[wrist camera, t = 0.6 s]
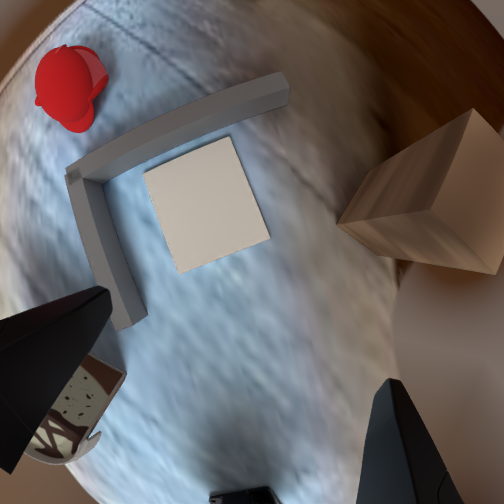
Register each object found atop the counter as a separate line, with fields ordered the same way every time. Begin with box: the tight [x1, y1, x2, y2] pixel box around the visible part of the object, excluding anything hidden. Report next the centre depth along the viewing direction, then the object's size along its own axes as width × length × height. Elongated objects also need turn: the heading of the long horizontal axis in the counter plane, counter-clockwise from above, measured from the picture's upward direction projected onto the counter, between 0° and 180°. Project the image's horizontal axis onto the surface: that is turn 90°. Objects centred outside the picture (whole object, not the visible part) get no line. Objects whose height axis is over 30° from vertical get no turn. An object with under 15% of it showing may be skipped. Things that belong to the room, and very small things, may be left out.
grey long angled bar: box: [64, 71, 291, 331], centre depth 20 cm, size 12×17×3 cm
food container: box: [24, 352, 127, 465], centre depth 18 cm, size 12×6×10 cm, turn 67°
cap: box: [35, 44, 109, 133], centre depth 19 cm, size 8×6×6 cm
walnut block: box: [336, 108, 504, 275], centre depth 15 cm, size 4×5×13 cm
